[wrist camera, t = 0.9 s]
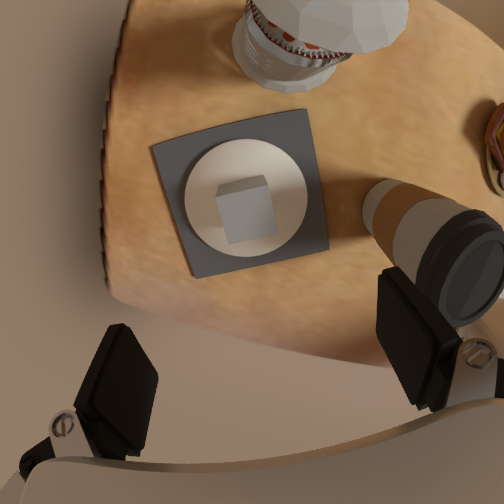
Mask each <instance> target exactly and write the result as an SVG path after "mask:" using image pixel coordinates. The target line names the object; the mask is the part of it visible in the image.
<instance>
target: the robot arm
mask: <svg viewBox="0 0 504 504" xmlns="http://www.w3.org/2000/svg"><path fill="white" fill-rule="evenodd" d="M376 334H377V338H378V340H379V342H380V344H381V345H382V347H383V349H384V351H385V353H386V355H387V357H388V359H389V361H390V363H391V365H392V367H393V369H394V371H395V372H396V374H397V376H398V379H399V381H400V383H401V385H402V387H403V389H404V391H405V393H406V395H407V397H408V399H409V401H410V403H411V404H412V405H415V404H416V406H417V408H418V411H420V410H422V409H425V408H427V407H429V409H430V411H431V412H433V413H432V414H429V415H426V416H423V417H420V418H418V419H415V420H413V421H411V422H408V423H405V424H402V425H399V426H397V427H394V428H391V429H388V430H385V431H382V432H379V433H376V434H373V435H370V436H366V437H363V438H360V439H356V440H353V441H349V442H345V443H342V444H338V445H334V446H330V447H326V448H321V449H317V450H312V451H307V452H302V453H297V454H291V455H285V456H279V457H273V458H265V459H257V460H248V461H237V462H224V463H202V464H166V463H146V462H133V461H126V459H125V458H126V455H128V456H137V457H139V456H140V452H141V450H142V449H143V448H144V446H145V441H146V436H147V431H148V426H149V421H150V416H151V411H152V406H153V402H154V397H155V393H156V388H157V384H158V373H157V371H156V370H155V368H154V366H153V365H152V363H151V362H150V360H149V359H148V357H147V355H146V354H145V352H144V351H143V349H142V347H141V345H140V344H139V342H138V341H137V339H136V337H135V335H134V334H133V332H132V330H131V329H130V327H128V326H126V325H125V324H123V323H121V324H114V325H110V326H109V327H108V329H107V331H106V333H105V335H104V337H103V339H102V341H101V343H100V345H99V347H98V350H97V352H96V354H95V356H94V358H93V360H92V362H91V365H90V367H89V369H88V371H87V374H86V376H85V378H84V381H83V383H82V385H81V388H80V390H79V392H78V395H77V397H76V399H75V402H74V404H73V406H74V407H75V408H76V411H75V412H73V411H72V410H63V411H60V412H58V413H57V414H56V415H55V416H54V417H53V419H52V420H51V422H50V424H49V435H50V436H49V437H48V438H46V439H45V440H43V441H42V442H40V443H39V444H37V445H36V446H34V447H33V448H31V449H30V450H29V451H27V452H26V453H25V454H23V456H22V457H21V460H20V463H19V470H20V472H19V471H16V472H15V473H14V474H13V476H12V477H11V478H10V479H9V480H8V482H7V483H6V484H5V485H4V487H3V488H2V489H1V490H0V504H504V289H503V291H502V293H501V294H500V296H499V297H498V299H497V300H496V302H495V303H494V304H493V305H492V307H491V308H490V309H489V310H488V311H487V312H486V313H485V314H484V315H483V316H482V317H480V318H479V319H477V320H476V321H474V322H473V323H471V324H469V325H466V326H464V327H458V328H456V331H455V330H454V328H453V327H452V326H451V325H450V323H449V322H448V321H447V320H446V318H445V317H444V316H443V315H442V313H441V312H440V311H439V310H438V309H437V307H436V306H435V305H434V304H433V303H432V301H431V300H430V299H429V298H428V297H427V296H426V295H423V294H422V292H421V291H420V290H419V289H418V288H417V287H416V285H415V284H414V283H413V282H412V281H411V280H410V279H409V277H408V276H407V275H406V274H405V273H404V272H403V271H402V270H401V268H400V267H398V266H395V267H391V268H387V269H384V270H383V271H382V274H380V275H379V276H378V299H377V320H376Z"/></svg>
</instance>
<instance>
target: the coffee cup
mask: <svg viewBox="0 0 504 504" xmlns="http://www.w3.org/2000/svg"><path fill="white" fill-rule="evenodd" d="M362 217H363V221H364V224H365V226H366V228H367V229H368V231H369V232H370V233H371V235H372V236H373V237H374V239H375V240H376V242H377V244H378V245H379V246H380V248H381V249H382V250H383V252H384V253H385V254H386V256H387V257H388V258H389V260H390V261H391V262H392V264H393V265H394V266H398V267H400V268H401V270H402V271H403V272H404V273H405V274H406V275H407V276H408V277H409V279H410V280H411V281H412V282H413V283H414V284H415V285H416V287H417V288H418V289H419V290H420V291H421V292H422V294H423V295H426V296H427V297H428V298H429V299H430V300H431V301H432V303H433V304H434V305H435V306H436V307H437V309H438V310H439V311H440V312H441V313H442V315H443V316H444V317H445V318H446V320H447V321H448V322H449V323H450V325H451V326H452V327H453V328H458V327H464V326H466V325H469V324H471V323H473V322H474V321H476V320H477V319H479V318H480V317H482V316H483V315H484V314H485V313H486V312H487V311H488V310H489V309H490V308H491V307H492V305H493V304H494V303H495V302H496V300H497V299H498V297H499V296H500V294H501V293H502V291H503V289H504V231H503V229H502V227H501V225H500V224H498V223H497V222H496V221H495V220H494V219H493V218H491V217H490V216H489V215H487V214H486V213H485V212H484V211H480V210H476V209H470V208H468V207H466V206H464V205H461V204H459V203H457V202H456V201H455V200H452V199H450V198H448V197H445V196H443V195H440V194H437V193H435V192H432V191H430V190H427V189H424V188H422V187H419V186H416V185H413V184H409V183H405V182H402V181H399V180H395V179H389V180H384V181H382V182H379V183H378V184H376V185H375V186H374V187H373V188H371V190H370V191H369V192H368V193H367V195H366V197H365V200H364V203H363V209H362Z"/></svg>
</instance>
